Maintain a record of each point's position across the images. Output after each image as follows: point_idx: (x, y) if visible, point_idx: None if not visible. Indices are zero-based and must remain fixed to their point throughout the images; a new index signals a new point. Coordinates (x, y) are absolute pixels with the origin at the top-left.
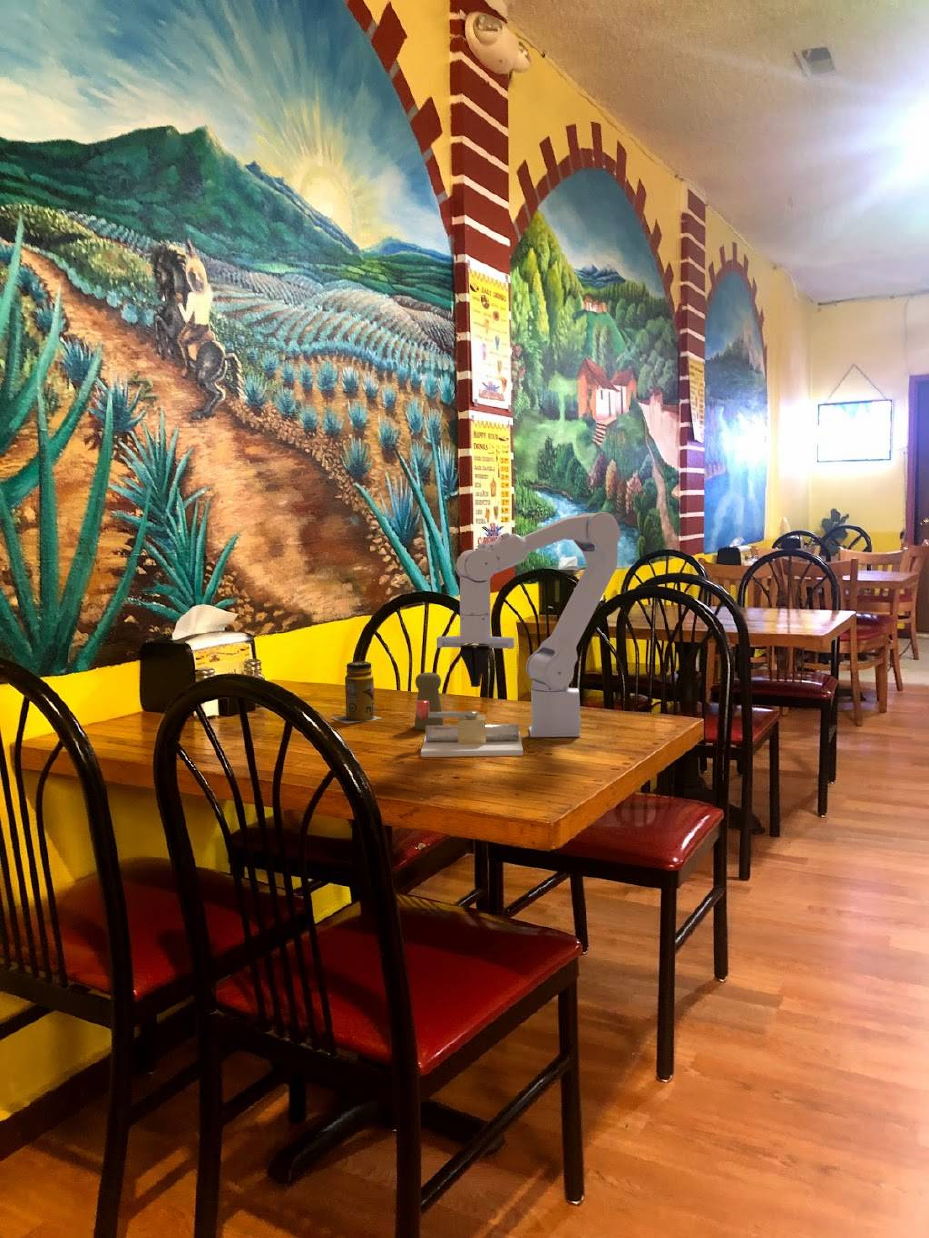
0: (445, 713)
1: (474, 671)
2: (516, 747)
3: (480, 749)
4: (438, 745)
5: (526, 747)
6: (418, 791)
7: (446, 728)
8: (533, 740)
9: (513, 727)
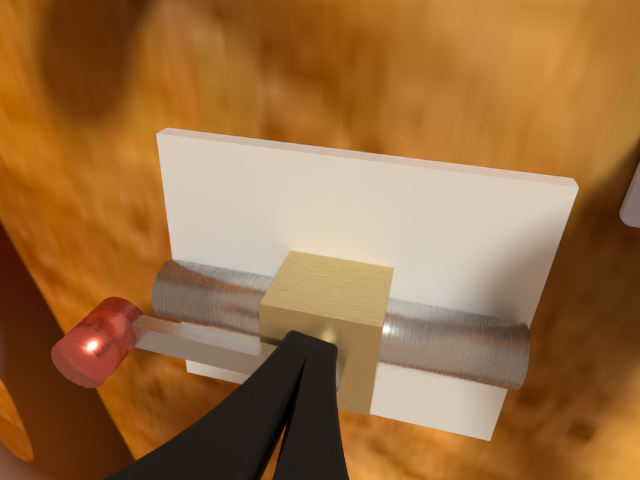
0: (201, 362)
1: (265, 456)
2: (477, 412)
3: None
4: None
5: (535, 345)
6: None
7: (230, 331)
8: (610, 255)
9: (494, 386)
